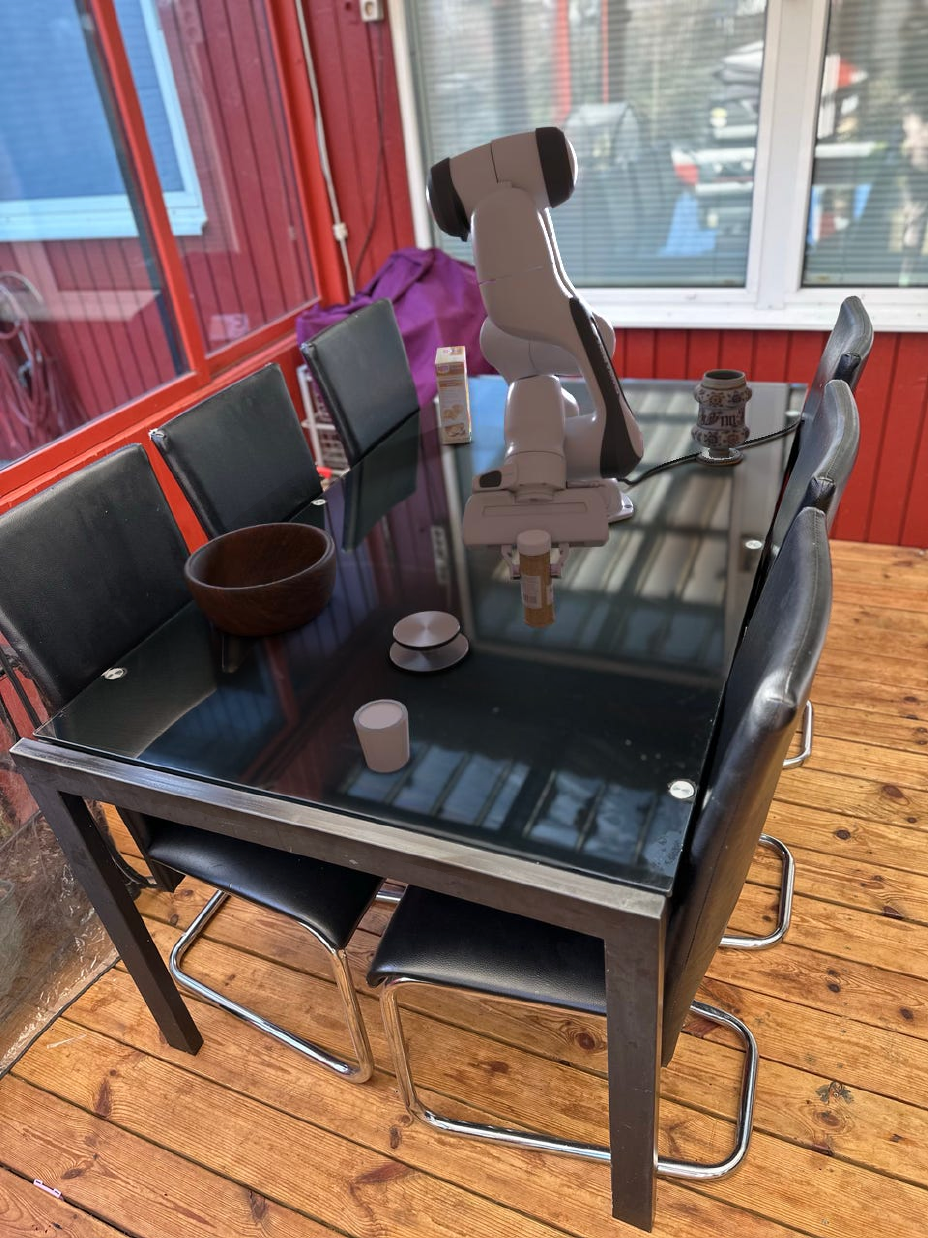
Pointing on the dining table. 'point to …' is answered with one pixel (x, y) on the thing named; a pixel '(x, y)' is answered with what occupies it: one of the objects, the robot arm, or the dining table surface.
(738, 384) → the apothecary jar
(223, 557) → the wooden bowl
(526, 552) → the sprinkles bottle
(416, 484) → the dining table surface
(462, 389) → the coffeecake box
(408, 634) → the stand
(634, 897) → the dining table surface
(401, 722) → the pale pink cup
